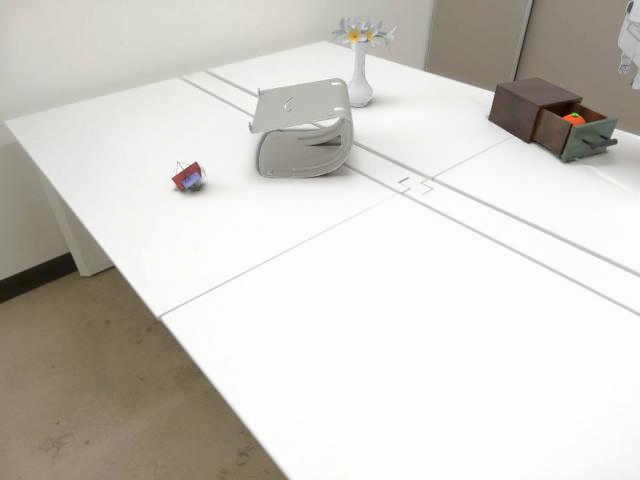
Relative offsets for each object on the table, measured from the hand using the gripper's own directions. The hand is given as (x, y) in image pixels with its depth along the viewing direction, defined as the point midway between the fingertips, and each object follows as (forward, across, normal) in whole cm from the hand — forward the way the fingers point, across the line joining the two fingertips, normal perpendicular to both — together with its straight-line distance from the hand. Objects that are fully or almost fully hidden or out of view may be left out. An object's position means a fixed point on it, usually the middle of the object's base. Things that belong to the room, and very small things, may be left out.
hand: (628, 80), depth 101 cm
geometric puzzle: (+21, -33, +93) cm, 101 cm away
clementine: (+19, +8, +6) cm, 22 cm away
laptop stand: (+21, -11, +72) cm, 76 cm away
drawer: (+20, +7, +5) cm, 22 cm away
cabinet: (+21, +19, +14) cm, 31 cm away
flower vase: (+21, +26, +63) cm, 71 cm away
